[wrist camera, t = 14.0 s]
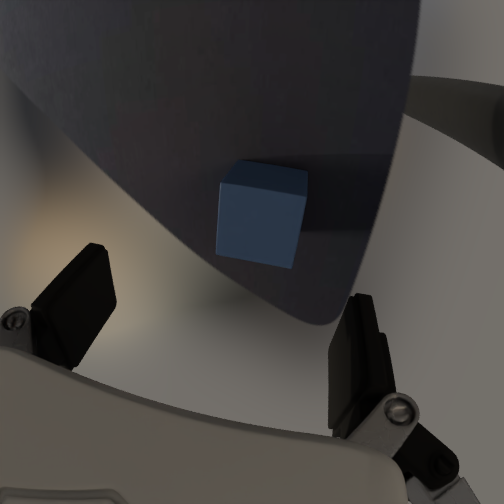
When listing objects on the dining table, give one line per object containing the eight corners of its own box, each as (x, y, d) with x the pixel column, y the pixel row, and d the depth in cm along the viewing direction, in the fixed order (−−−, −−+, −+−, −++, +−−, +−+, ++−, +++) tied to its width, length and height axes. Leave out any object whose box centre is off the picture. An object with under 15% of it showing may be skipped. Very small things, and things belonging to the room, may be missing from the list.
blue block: (232, 220, 22) (215, 254, 18) (238, 159, 19) (220, 182, 16) (296, 232, 21) (291, 269, 18) (308, 170, 19) (307, 196, 15)
